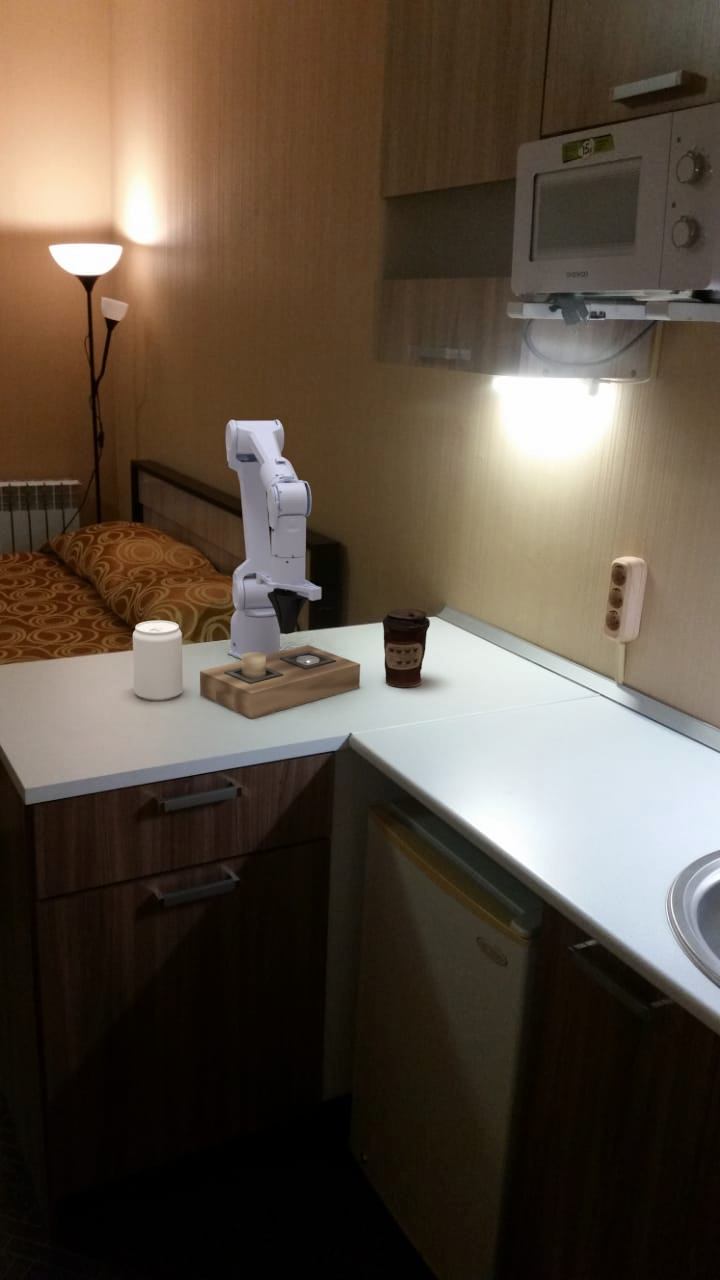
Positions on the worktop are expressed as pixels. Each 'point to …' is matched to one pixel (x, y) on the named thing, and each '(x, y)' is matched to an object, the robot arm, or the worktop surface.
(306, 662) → the metal peg
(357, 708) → the worktop surface
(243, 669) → the maple peg
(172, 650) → the beverage can
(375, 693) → the worktop surface
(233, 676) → the socket block
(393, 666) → the coffee cup
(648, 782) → the worktop surface
